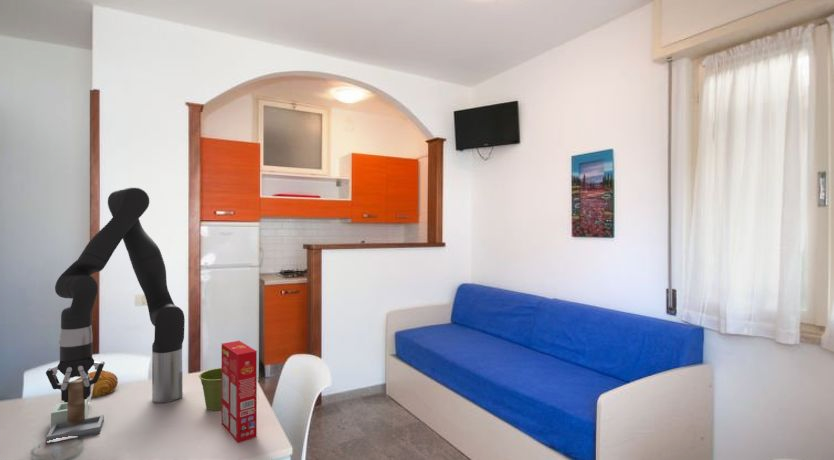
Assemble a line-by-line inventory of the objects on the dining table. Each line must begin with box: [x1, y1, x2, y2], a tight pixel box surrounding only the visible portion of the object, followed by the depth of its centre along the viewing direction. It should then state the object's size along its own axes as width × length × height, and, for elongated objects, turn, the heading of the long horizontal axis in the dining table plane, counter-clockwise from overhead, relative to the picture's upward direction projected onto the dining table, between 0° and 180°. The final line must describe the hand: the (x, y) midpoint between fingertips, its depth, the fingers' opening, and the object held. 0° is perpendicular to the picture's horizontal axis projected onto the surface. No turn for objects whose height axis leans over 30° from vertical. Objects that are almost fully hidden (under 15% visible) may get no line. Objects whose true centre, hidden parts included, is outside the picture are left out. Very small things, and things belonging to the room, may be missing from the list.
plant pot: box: [198, 367, 222, 411], centre depth 142 cm, size 12×12×11 cm
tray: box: [45, 414, 105, 442], centre depth 124 cm, size 12×9×2 cm
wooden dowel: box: [67, 379, 85, 426], centre depth 124 cm, size 4×4×12 cm
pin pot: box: [50, 399, 89, 429], centre depth 130 cm, size 8×8×5 cm
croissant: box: [75, 369, 119, 398], centre depth 154 cm, size 14×16×8 cm
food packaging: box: [221, 340, 258, 444], centre depth 125 cm, size 15×5×25 cm, turn 42°
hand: (76, 399), depth 124 cm, fingers closed on wooden dowel, 4 cm apart
